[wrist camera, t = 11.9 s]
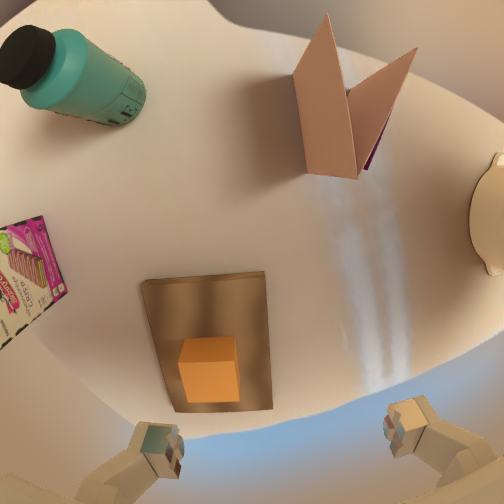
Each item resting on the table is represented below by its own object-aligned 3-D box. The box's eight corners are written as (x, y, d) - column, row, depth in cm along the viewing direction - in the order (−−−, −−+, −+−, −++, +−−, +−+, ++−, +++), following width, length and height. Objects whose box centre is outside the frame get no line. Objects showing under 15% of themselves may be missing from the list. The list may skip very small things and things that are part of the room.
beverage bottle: (128, 66, 27) (28, -9, 8) (164, 98, 29) (73, 26, 10) (91, 107, 29) (-32, 74, 9) (124, 141, 30) (1, 125, 11)
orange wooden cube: (235, 336, 34) (234, 360, 30) (239, 374, 36) (239, 401, 31) (185, 338, 34) (177, 362, 30) (193, 376, 36) (188, 402, 31)
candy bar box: (70, 292, 35) (-2, 356, 19) (46, 297, 35) (-24, 357, 19) (44, 212, 32) (-48, 244, 16) (20, 222, 32) (-65, 256, 16)
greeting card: (314, 177, 32) (368, 186, 17) (253, 145, 31) (261, 125, 16) (357, 93, 29) (428, 54, 15) (300, 60, 28) (338, -5, 14)
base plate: (263, 271, 35) (265, 277, 33) (271, 399, 40) (273, 409, 38) (145, 279, 34) (140, 286, 32) (177, 403, 40) (175, 412, 38)
